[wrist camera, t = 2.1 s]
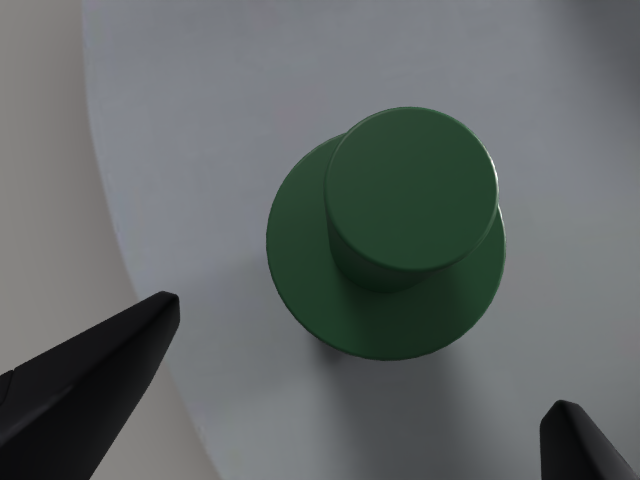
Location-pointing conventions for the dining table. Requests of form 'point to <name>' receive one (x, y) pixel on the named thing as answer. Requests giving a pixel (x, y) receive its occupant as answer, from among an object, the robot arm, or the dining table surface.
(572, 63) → the dining table surface
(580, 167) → the dining table surface
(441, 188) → the green bottle
